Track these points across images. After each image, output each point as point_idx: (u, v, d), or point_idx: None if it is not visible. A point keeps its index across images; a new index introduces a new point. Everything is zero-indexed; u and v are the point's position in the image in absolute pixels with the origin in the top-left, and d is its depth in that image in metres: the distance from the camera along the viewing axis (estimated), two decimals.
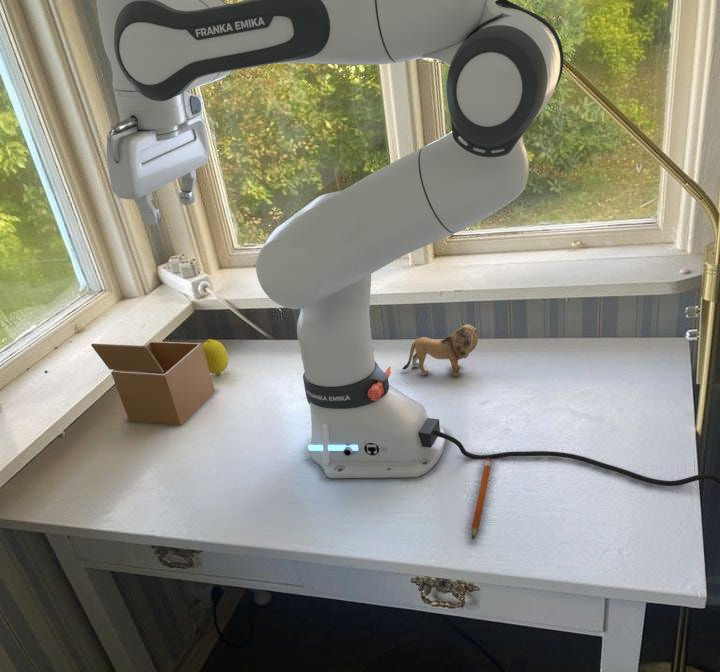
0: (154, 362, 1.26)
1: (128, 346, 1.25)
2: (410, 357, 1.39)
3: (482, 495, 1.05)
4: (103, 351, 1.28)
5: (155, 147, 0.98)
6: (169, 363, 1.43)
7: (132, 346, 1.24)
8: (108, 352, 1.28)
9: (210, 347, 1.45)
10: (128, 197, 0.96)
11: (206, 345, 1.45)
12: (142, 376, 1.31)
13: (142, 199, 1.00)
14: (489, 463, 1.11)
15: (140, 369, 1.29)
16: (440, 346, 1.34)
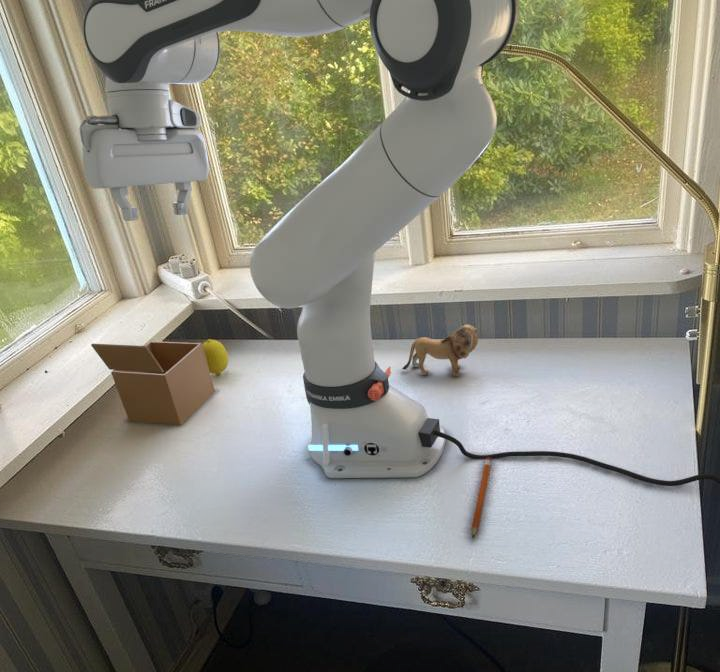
0: (154, 362, 1.26)
1: (128, 346, 1.25)
2: (410, 357, 1.39)
3: (482, 494, 1.04)
4: (103, 351, 1.28)
5: (135, 146, 1.03)
6: (169, 363, 1.43)
7: (132, 346, 1.24)
8: (108, 352, 1.28)
9: (210, 347, 1.45)
10: (97, 185, 1.01)
11: (206, 345, 1.45)
12: (142, 376, 1.31)
13: (116, 193, 1.04)
14: (489, 462, 1.11)
15: (140, 369, 1.29)
16: (440, 346, 1.34)
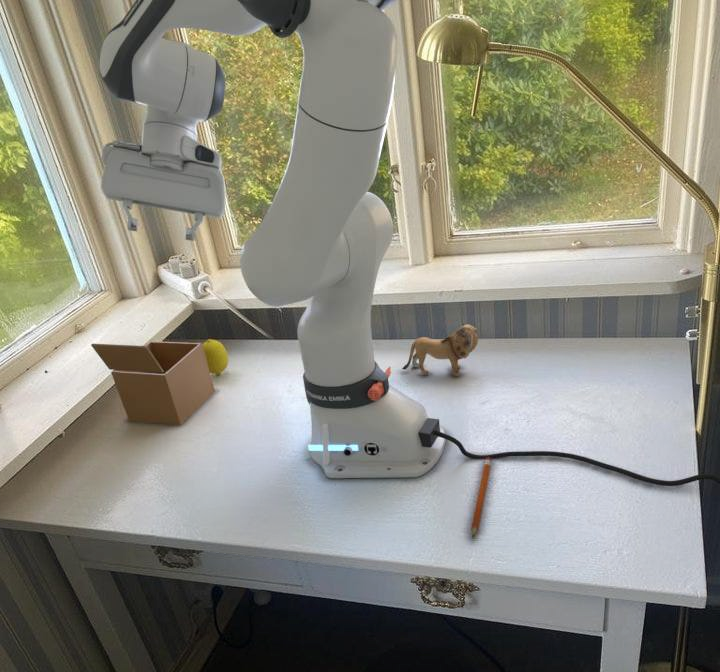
0: (154, 362, 1.26)
1: (128, 346, 1.25)
2: (410, 357, 1.39)
3: (482, 494, 1.04)
4: (103, 351, 1.28)
5: (147, 169, 1.20)
6: (169, 363, 1.43)
7: (132, 346, 1.24)
8: (108, 352, 1.28)
9: (210, 347, 1.45)
10: (103, 193, 1.19)
11: (206, 345, 1.45)
12: (142, 376, 1.31)
13: None
14: (489, 462, 1.11)
15: (140, 369, 1.29)
16: (440, 346, 1.34)
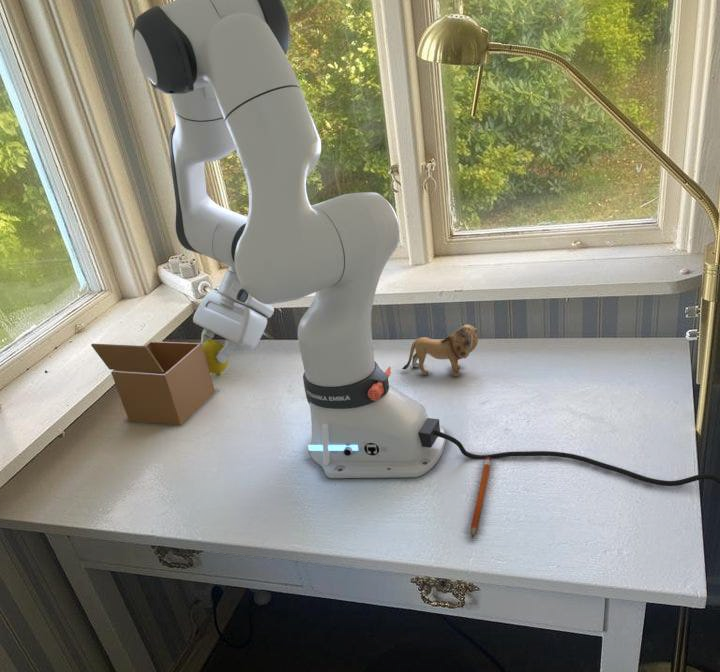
0: (154, 362, 1.26)
1: (128, 346, 1.25)
2: (410, 357, 1.39)
3: (481, 494, 1.05)
4: (103, 351, 1.28)
5: (218, 306, 1.47)
6: (169, 363, 1.43)
7: (132, 346, 1.24)
8: (108, 352, 1.28)
9: (210, 347, 1.45)
10: None
11: (206, 344, 1.45)
12: (142, 376, 1.31)
13: None
14: (489, 462, 1.11)
15: (140, 369, 1.29)
16: (440, 346, 1.34)
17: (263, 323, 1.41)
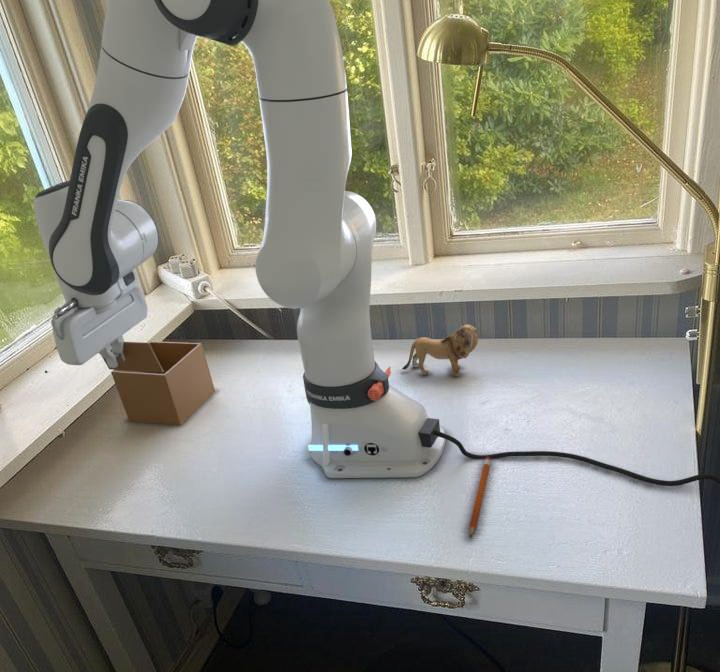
0: (155, 360, 1.26)
1: (130, 342, 1.25)
2: (410, 357, 1.39)
3: (480, 494, 1.05)
4: None
5: (95, 319, 1.18)
6: (169, 363, 1.43)
7: (134, 343, 1.25)
8: None
9: None
10: (74, 364, 1.16)
11: None
12: (142, 376, 1.31)
13: (103, 350, 1.22)
14: (488, 462, 1.11)
15: (140, 369, 1.29)
16: (440, 346, 1.34)
17: None
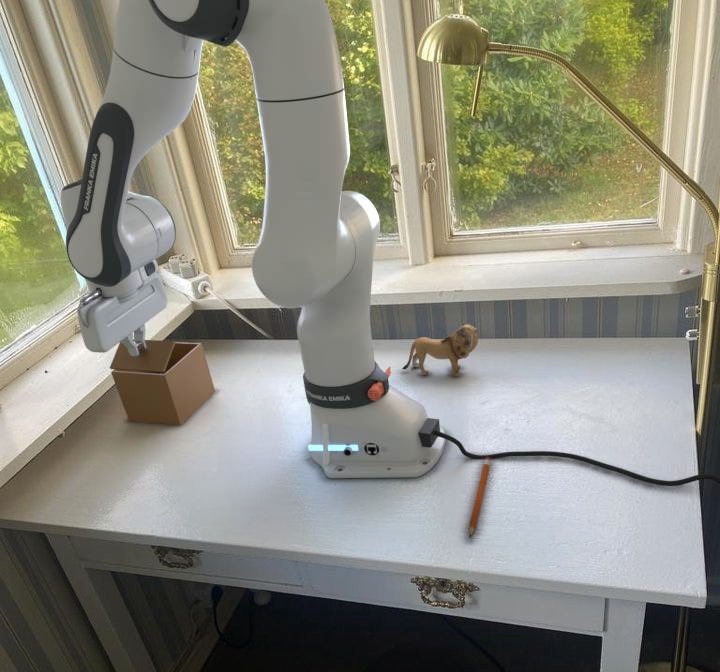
0: (166, 358, 1.29)
1: (157, 340, 1.32)
2: (410, 357, 1.39)
3: (480, 494, 1.05)
4: None
5: (118, 308, 1.22)
6: (169, 363, 1.43)
7: (161, 341, 1.31)
8: None
9: None
10: (98, 351, 1.20)
11: None
12: (142, 376, 1.31)
13: (125, 339, 1.26)
14: (488, 462, 1.11)
15: (143, 367, 1.30)
16: (440, 346, 1.34)
17: None
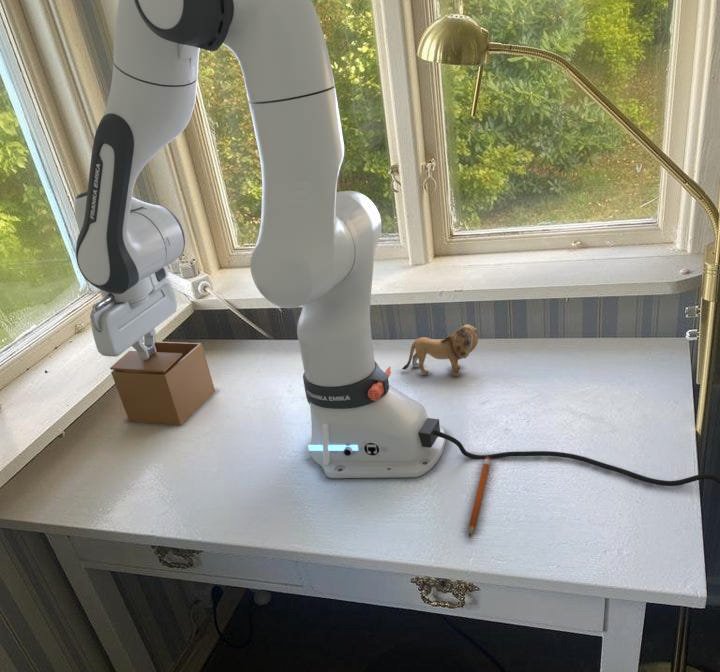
0: (169, 363, 1.30)
1: (165, 353, 1.34)
2: (410, 357, 1.39)
3: (480, 493, 1.05)
4: (133, 354, 1.35)
5: (129, 313, 1.25)
6: None
7: (168, 353, 1.34)
8: (136, 355, 1.35)
9: None
10: (110, 355, 1.23)
11: None
12: (142, 376, 1.31)
13: (135, 343, 1.29)
14: (488, 461, 1.11)
15: (144, 368, 1.30)
16: (440, 346, 1.34)
17: None
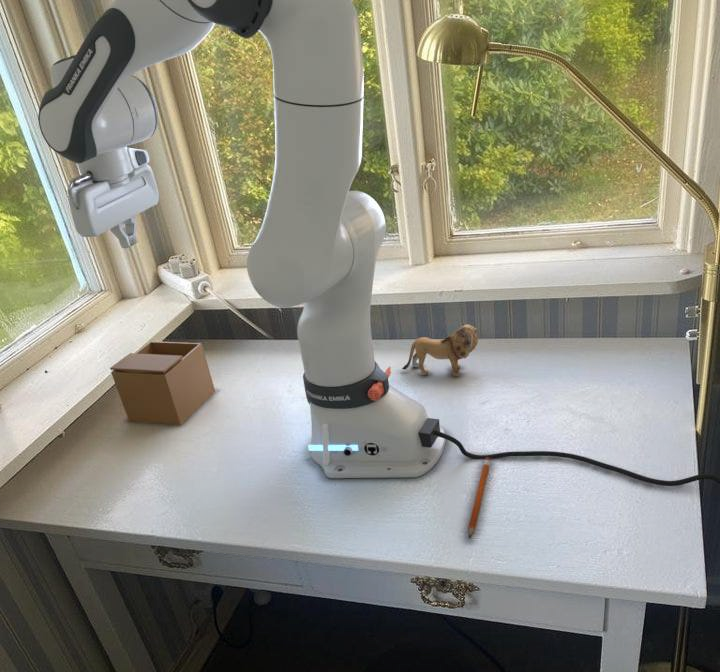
0: (170, 364, 1.30)
1: (165, 355, 1.34)
2: (410, 357, 1.39)
3: (480, 494, 1.05)
4: (133, 356, 1.35)
5: (109, 194, 1.23)
6: None
7: None
8: (137, 357, 1.35)
9: None
10: (89, 235, 1.21)
11: None
12: (142, 376, 1.31)
13: (116, 228, 1.27)
14: (488, 462, 1.11)
15: (144, 368, 1.30)
16: (440, 346, 1.34)
17: None
